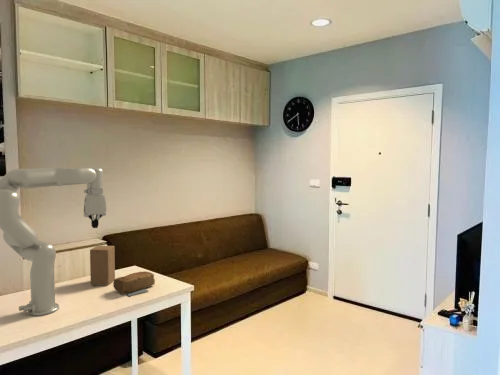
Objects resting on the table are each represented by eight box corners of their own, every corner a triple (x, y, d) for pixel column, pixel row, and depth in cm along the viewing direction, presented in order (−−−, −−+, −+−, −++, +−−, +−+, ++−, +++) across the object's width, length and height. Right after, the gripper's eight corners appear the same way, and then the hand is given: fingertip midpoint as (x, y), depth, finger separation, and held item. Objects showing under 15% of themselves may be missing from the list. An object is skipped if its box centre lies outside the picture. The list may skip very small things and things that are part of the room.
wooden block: (108, 285, 200) (107, 249, 199) (90, 285, 200) (89, 249, 199) (115, 279, 210) (114, 245, 209) (98, 279, 210) (97, 245, 209)
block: (124, 295, 184) (156, 285, 200) (123, 280, 184) (156, 272, 200) (112, 291, 191) (144, 282, 207) (111, 276, 191) (144, 269, 207)
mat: (129, 296, 185) (129, 295, 184) (117, 289, 195) (117, 288, 195) (148, 291, 192) (148, 290, 192) (136, 285, 202) (136, 284, 202)
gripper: (81, 193, 178) (81, 230, 179) (112, 192, 188) (112, 227, 189) (77, 192, 184) (77, 228, 185) (107, 191, 194) (106, 225, 195)
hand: (94, 227), depth 187 cm, fingers closed
